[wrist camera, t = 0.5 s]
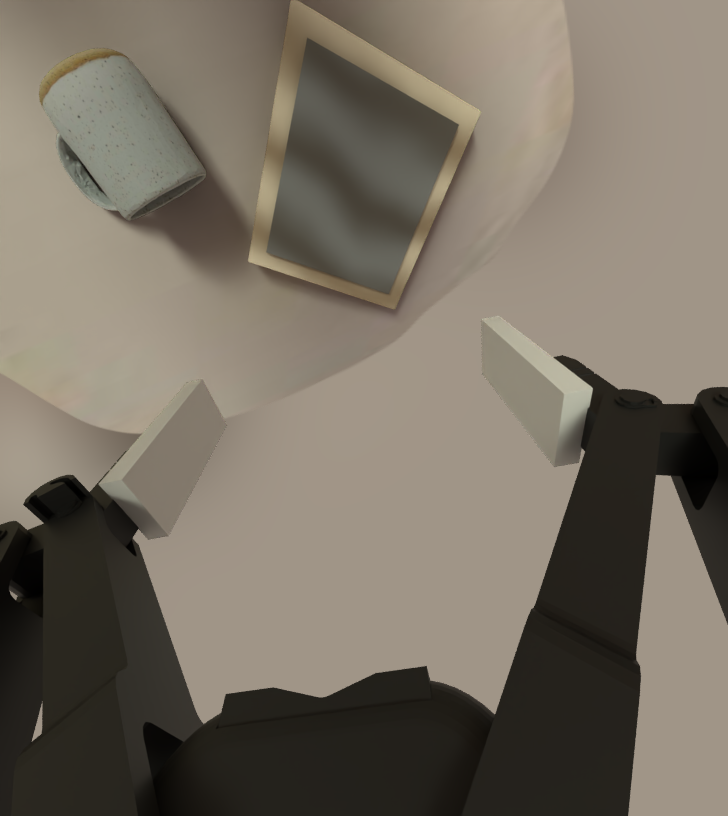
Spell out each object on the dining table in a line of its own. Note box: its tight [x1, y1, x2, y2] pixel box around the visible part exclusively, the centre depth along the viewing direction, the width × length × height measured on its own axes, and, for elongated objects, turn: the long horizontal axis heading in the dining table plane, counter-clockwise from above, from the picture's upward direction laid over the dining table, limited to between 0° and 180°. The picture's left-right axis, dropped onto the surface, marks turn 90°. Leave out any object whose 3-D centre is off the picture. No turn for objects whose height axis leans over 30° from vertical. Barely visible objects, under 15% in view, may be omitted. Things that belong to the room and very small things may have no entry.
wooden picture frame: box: [248, 0, 481, 310], centre depth 31 cm, size 18×16×3 cm
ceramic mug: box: [39, 48, 206, 220], centre depth 25 cm, size 11×8×8 cm
